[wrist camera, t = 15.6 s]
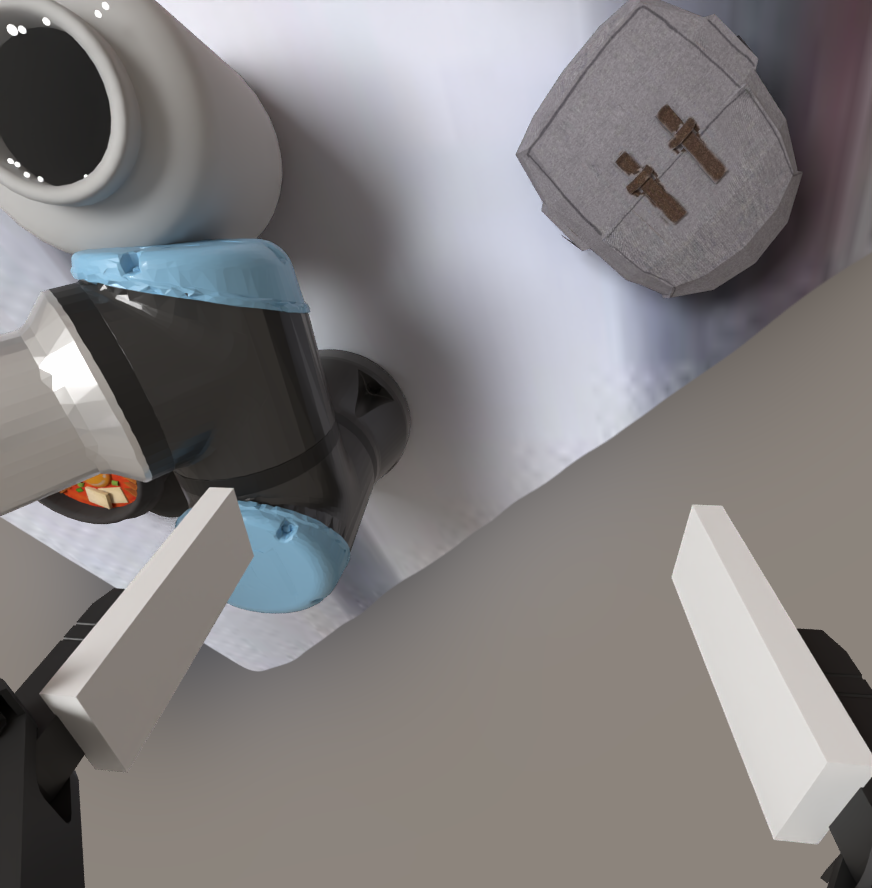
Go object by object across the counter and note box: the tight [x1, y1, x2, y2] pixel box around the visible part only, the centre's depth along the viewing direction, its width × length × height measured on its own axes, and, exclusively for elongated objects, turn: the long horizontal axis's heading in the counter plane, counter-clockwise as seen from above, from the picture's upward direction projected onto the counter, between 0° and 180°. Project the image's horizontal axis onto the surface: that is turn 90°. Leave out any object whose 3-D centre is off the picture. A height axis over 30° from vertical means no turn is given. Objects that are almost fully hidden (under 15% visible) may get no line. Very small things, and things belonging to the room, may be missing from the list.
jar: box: [0, 0, 282, 254], centre depth 30 cm, size 19×15×25 cm
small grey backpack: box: [516, 0, 803, 298], centre depth 36 cm, size 15×8×20 cm
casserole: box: [38, 471, 189, 524], centre depth 54 cm, size 25×19×8 cm
